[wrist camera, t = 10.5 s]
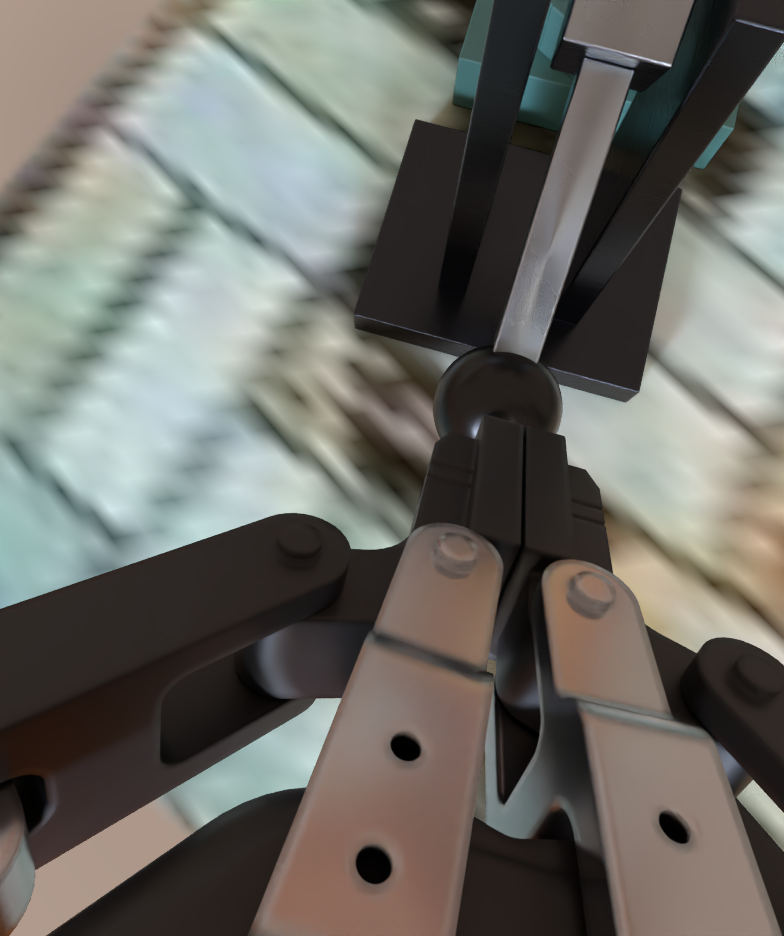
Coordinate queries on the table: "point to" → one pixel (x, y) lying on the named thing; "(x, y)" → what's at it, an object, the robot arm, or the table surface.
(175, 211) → the table surface
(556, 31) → the button box
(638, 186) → the bracket
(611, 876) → the robot arm
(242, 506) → the table surface
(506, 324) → the lever
